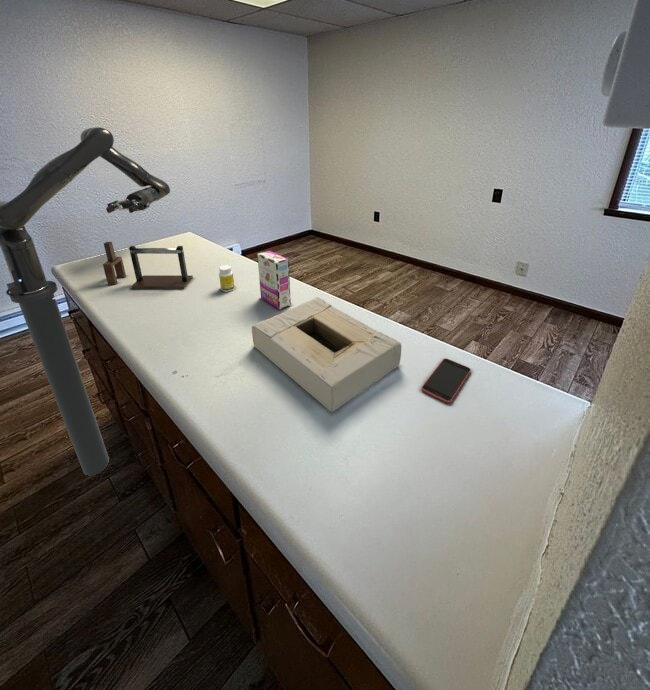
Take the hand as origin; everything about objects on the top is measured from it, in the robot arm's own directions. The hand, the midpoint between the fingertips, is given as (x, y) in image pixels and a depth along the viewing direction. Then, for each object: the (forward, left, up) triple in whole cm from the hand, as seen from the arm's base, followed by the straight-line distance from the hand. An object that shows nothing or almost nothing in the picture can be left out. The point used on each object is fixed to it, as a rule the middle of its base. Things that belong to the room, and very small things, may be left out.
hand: (118, 210), depth 137 cm
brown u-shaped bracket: (-8, -7, -24) cm, 27 cm away
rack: (+2, -23, -24) cm, 33 cm away
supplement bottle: (+15, -45, -24) cm, 53 cm away
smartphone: (+21, -124, -24) cm, 128 cm away
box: (+9, -96, -24) cm, 99 cm away
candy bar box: (+20, -65, -24) cm, 72 cm away
